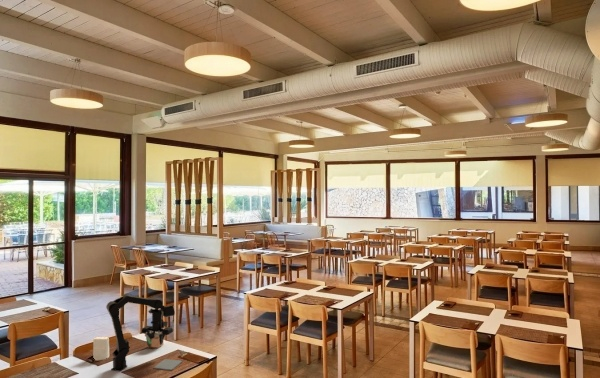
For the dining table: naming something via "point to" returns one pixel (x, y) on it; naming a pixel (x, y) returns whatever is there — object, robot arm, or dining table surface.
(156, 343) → the terracotta cube
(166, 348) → the dining table surface
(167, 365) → the place mat
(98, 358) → the white upright block
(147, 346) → the food container
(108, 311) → the robot arm
